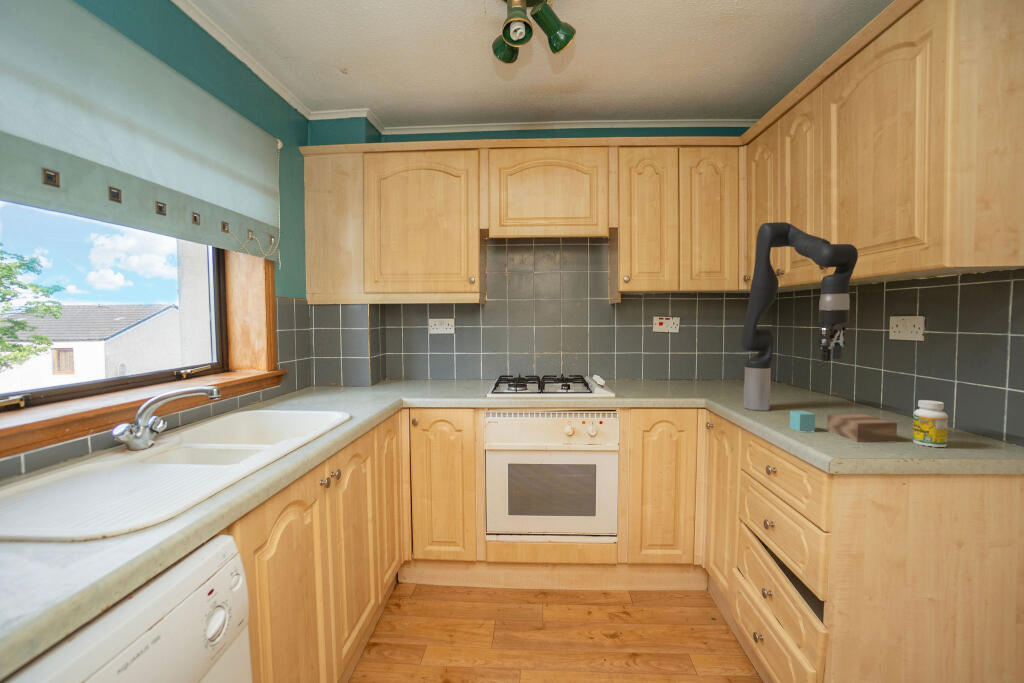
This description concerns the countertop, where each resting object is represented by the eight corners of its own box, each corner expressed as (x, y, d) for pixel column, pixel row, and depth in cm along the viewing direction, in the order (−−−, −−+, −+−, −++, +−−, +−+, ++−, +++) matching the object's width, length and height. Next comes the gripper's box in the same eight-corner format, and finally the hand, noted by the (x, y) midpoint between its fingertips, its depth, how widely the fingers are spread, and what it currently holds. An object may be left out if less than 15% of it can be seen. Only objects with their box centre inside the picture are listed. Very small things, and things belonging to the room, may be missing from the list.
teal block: (789, 428, 144) (790, 411, 143) (804, 428, 144) (804, 410, 143) (799, 432, 139) (800, 414, 138) (814, 432, 139) (815, 414, 138)
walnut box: (827, 432, 139) (827, 414, 139) (862, 431, 139) (863, 414, 139) (857, 443, 127) (858, 423, 127) (896, 442, 127) (897, 423, 127)
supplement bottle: (954, 448, 121) (956, 404, 120) (928, 448, 121) (931, 404, 120) (929, 440, 128) (931, 399, 127) (905, 441, 128) (907, 399, 127)
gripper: (829, 308, 138) (826, 357, 140) (810, 309, 130) (808, 360, 132) (857, 308, 132) (854, 359, 133) (839, 308, 124) (836, 363, 125)
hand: (831, 359), depth 133 cm, fingers open, 8 cm apart
